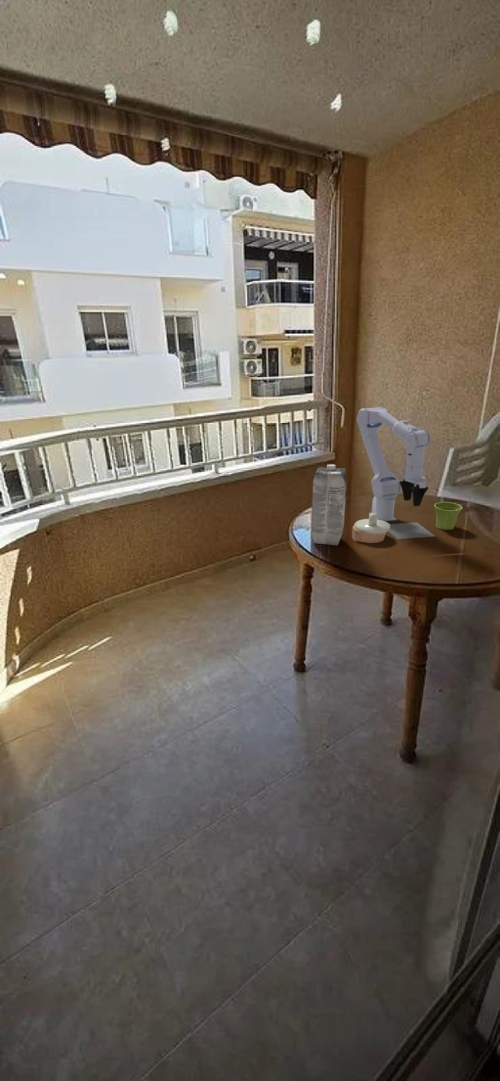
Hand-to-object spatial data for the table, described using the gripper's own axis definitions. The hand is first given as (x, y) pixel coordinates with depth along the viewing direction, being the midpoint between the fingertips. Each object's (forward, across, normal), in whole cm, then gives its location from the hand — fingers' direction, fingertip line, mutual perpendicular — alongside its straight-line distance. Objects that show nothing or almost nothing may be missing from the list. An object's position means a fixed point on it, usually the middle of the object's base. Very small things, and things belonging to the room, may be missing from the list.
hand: (411, 503), depth 158 cm
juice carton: (+10, -4, +32) cm, 34 cm away
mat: (+10, -1, +2) cm, 11 cm away
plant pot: (+11, 0, -14) cm, 17 cm away
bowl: (+10, -4, +18) cm, 21 cm away
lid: (+6, -5, +16) cm, 18 cm away
